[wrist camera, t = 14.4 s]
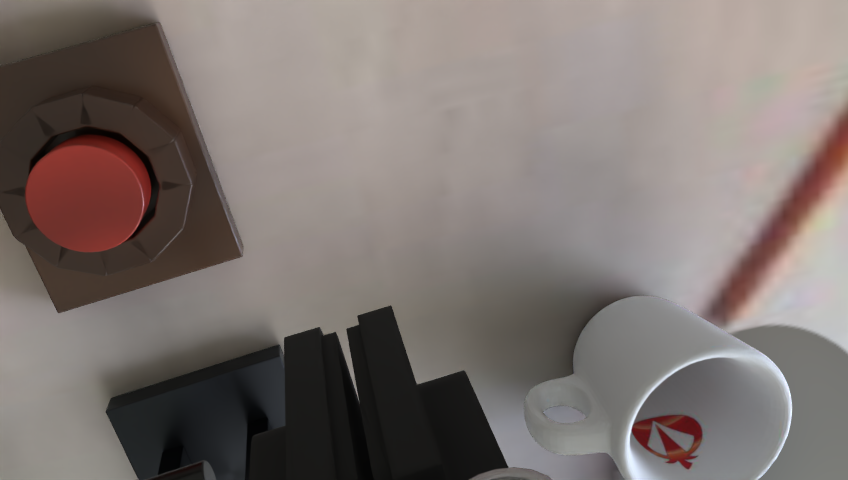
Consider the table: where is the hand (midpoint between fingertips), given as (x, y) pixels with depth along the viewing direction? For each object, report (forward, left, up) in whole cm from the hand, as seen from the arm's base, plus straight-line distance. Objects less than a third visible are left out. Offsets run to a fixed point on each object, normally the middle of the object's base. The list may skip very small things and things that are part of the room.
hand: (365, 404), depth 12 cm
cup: (+15, +11, -23) cm, 30 cm away
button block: (-1, -8, -23) cm, 24 cm away
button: (-1, -8, -20) cm, 22 cm away
